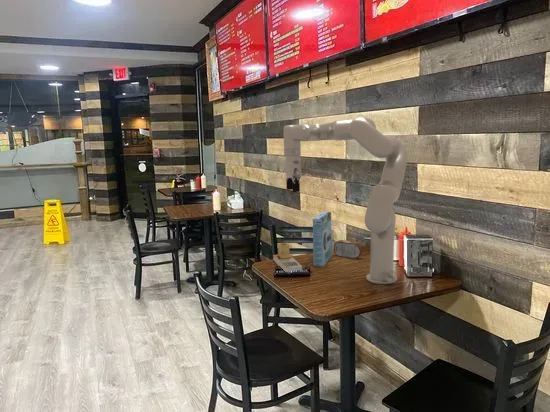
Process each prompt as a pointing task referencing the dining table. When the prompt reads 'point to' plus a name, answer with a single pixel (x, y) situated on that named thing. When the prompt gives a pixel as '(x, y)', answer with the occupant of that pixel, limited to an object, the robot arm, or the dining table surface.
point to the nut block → (283, 251)
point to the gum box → (322, 239)
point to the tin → (348, 249)
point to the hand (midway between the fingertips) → (293, 190)
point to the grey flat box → (287, 263)
